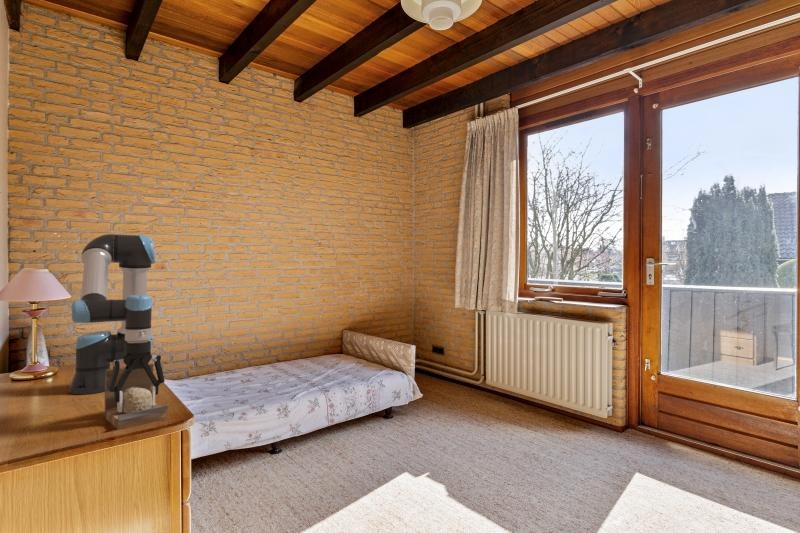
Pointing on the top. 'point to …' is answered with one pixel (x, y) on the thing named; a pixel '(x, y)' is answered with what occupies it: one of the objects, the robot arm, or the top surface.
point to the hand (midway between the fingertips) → (136, 407)
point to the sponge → (136, 399)
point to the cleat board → (134, 418)
